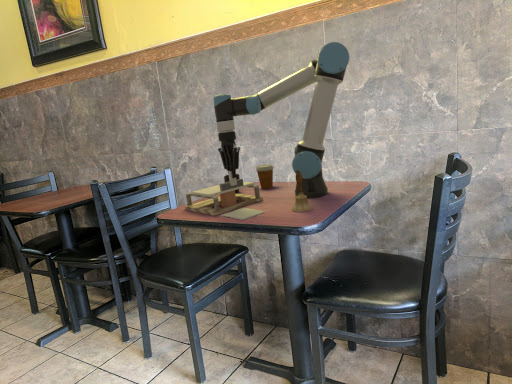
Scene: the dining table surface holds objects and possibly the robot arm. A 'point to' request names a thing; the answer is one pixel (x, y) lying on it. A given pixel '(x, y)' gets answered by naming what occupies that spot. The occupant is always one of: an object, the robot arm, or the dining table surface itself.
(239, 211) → the pad
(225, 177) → the mug
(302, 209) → the hand bell
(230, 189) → the sliding lid
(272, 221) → the dining table surface
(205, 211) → the open wooden rack
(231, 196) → the block
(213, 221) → the dining table surface
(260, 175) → the disposable coffee cup
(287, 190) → the dining table surface
